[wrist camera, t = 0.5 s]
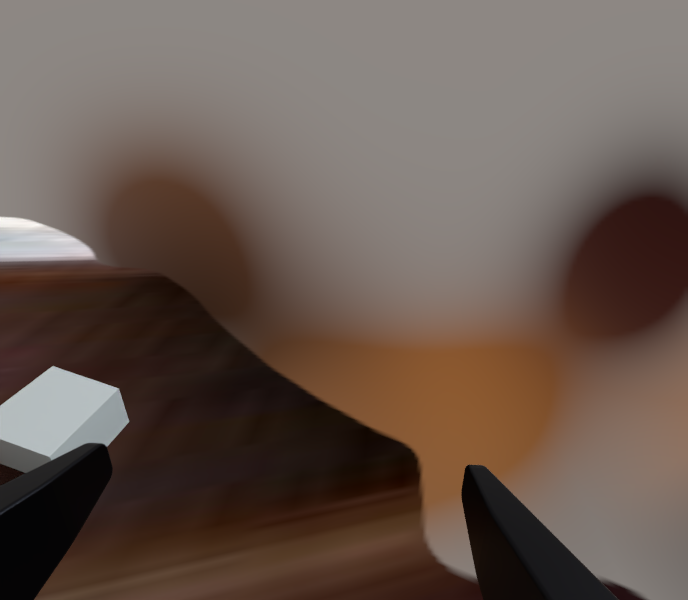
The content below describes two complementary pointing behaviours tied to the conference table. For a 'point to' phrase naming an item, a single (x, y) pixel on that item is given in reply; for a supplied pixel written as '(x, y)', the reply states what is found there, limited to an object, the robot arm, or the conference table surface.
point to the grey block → (57, 418)
